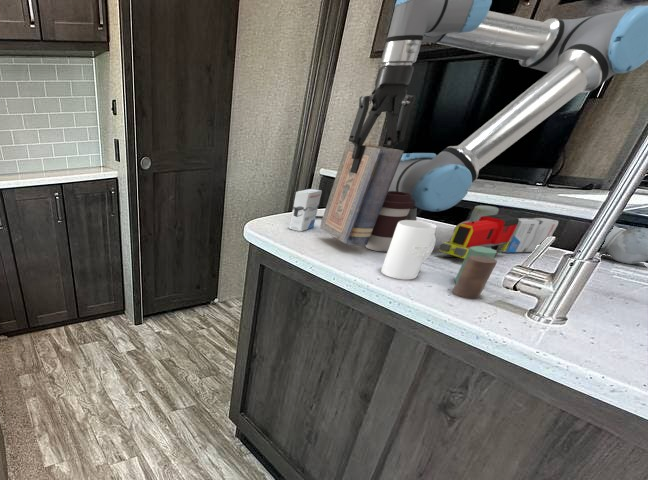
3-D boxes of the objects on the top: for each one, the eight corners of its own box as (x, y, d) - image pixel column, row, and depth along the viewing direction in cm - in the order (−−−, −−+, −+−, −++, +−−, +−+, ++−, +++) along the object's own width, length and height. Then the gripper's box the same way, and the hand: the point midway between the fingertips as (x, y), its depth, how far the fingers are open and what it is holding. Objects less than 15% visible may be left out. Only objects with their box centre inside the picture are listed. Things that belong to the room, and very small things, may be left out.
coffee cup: (367, 241, 122) (384, 188, 113) (402, 248, 116) (422, 193, 107) (354, 248, 116) (371, 193, 107) (390, 256, 110) (410, 198, 102)
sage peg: (453, 284, 93) (469, 250, 89) (454, 277, 96) (470, 244, 92) (479, 288, 91) (497, 254, 86) (479, 282, 94) (496, 248, 90)
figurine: (579, 258, 110) (651, 278, 100) (600, 225, 105) (680, 242, 94) (597, 250, 114) (669, 268, 103) (619, 218, 108) (698, 233, 97)
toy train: (504, 254, 110) (524, 217, 105) (459, 263, 104) (477, 224, 99) (479, 248, 116) (497, 212, 110) (434, 256, 109) (450, 218, 104)
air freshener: (480, 238, 124) (496, 204, 118) (498, 246, 117) (516, 210, 111) (445, 238, 124) (459, 204, 118) (461, 245, 117) (477, 210, 112)
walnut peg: (451, 295, 88) (468, 259, 83) (453, 288, 91) (469, 253, 87) (478, 300, 85) (497, 264, 81) (479, 293, 89) (497, 258, 84)
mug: (437, 275, 98) (459, 225, 91) (400, 281, 94) (420, 230, 88) (409, 265, 104) (427, 217, 97) (373, 270, 101) (390, 221, 94)
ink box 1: (301, 224, 138) (309, 188, 132) (314, 227, 135) (323, 190, 129) (287, 228, 134) (295, 191, 127) (301, 231, 131) (309, 193, 124)
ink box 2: (492, 248, 116) (526, 247, 117) (507, 253, 112) (543, 252, 113) (506, 217, 111) (542, 217, 113) (523, 221, 107) (560, 220, 109)
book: (317, 229, 124) (347, 137, 109) (337, 230, 125) (369, 139, 110) (346, 246, 110) (383, 143, 96) (367, 247, 111) (408, 145, 97)
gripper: (367, 63, 90) (339, 175, 103) (446, 64, 92) (409, 173, 105) (350, 66, 96) (326, 171, 109) (424, 66, 98) (391, 169, 111)
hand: (366, 172), depth 107 cm, fingers closed on book, 7 cm apart
